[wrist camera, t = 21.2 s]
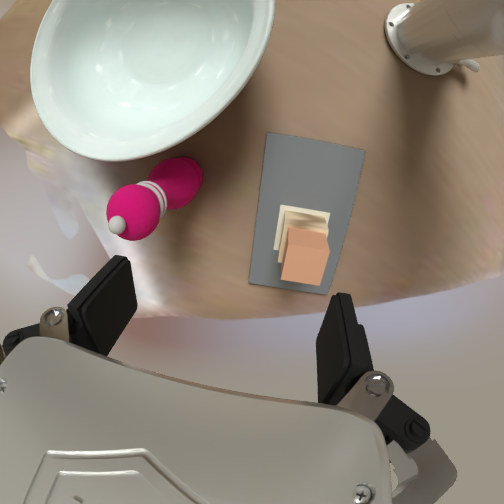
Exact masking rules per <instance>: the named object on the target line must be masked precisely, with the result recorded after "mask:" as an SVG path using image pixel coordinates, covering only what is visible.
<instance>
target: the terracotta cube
mask: <svg viewBox="0 0 504 504" xmlns="http://www.w3.org/2000/svg"><path fill="white" fill-rule="evenodd" d="M329 253H330V250H329V246H328V242H327V238H326V234H325V233H320V232H315V231H309V230H304V229H298V228H292V227H288V232H287V238H286V243H285V248H284V253H283V258H282V269H281V280H287V281H293V282H299V283H305V284H311V285H318V286H320V283H321V280H322V277H323V273H324V270H325V267H326V263H327V260H328V256H329Z"/></svg>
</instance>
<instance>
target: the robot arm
mask: <svg viewBox="0 0 504 504" xmlns="http://www.w3.org/2000/svg"><path fill="white" fill-rule="evenodd" d="M384 27H385V34H386V37H387V40H388V42H389V44H390V46H391V48H392V49H393V51H394V52H395V53H396V55H397V56H398V57H399V58H400V59H401V60H402V61H403V62H404V63H405V64H406V65H408V66H409V67H411V68H412V69H414V70H416V71H417V72H419V73H422V74H425V75H431V76H435V75H442V74H445V73H447V72H449V71H450V70H451V69H452V68H453V66H454V64H456V63H457V64H459V65H465V66H466V67H467V68H469V69H471V70H472V71H474V72H478V71H479V67H480V66H479V64H478V62H476V61H474V60H473V59H474V58H481V57H489V56H498V55H504V0H420V1H419V2H417V3H416V4H412V3H403V4H398V5H397V6H395V7H393V8H392V9H391V10H390V11H389V12H388V14H387V16H386V18H385V24H384ZM404 56H405V57H406V59H405V57H404ZM136 310H137V299H136V294H135V288H134V282H133V276H132V269H131V263H130V261H129V260H128V259H127V257H124V256H119V255H115V256H114V257H113V258H112V259H110V261H108V262H107V264H106V265H105V266H104V267H103V268H102V269H101V270H100V271H99V272H98V273H97V274H96V275H95V276H94V277H93V278H92V279H91V280H90V281H89V282H88V283H87V284H86V285H85V286H84V287H83V288H82V289H81V291H80V292H79V293H78V294H77V295H76V296H75V297H74V298H73V299H72V300H71V302H70V303H69V304H68V309H67V310H65V309H63V308H62V307H53V308H50V309H48V310H46V311H45V312H44V313H43V314H42V316H41V318H40V323H39V324H35V325H31V326H28V327H25V328H21V329H18V330H14V331H12V332H10V333H9V334H8V335H7V336H6V337H5V339H4V341H3V345H1V344H0V504H434V503H435V502H436V501H437V500H438V499H439V498H440V497H441V496H442V495H443V494H444V493H445V492H446V491H447V490H448V489H449V488H450V487H451V486H452V485H453V484H454V482H455V481H456V478H457V470H456V468H455V466H454V465H453V463H452V462H451V460H450V459H449V458H448V456H447V455H446V454H445V452H444V451H443V450H442V448H441V447H440V445H439V444H438V443H437V441H436V440H435V439H434V440H433V441H432V440H431V438H430V437H429V436H430V426H429V424H428V422H427V421H426V420H425V419H424V418H423V417H421V416H420V415H419V414H418V413H416V412H415V411H414V410H412V409H411V408H410V407H408V406H407V405H406V404H405V403H403V402H402V401H401V400H399V399H398V398H397V397H395V396H394V395H393V392H394V385H393V382H392V380H391V379H390V377H388V376H387V375H386V374H384V373H382V372H380V371H374V369H373V364H372V360H371V355H370V351H369V347H368V342H367V338H366V334H365V330H364V327H363V325H361V324H360V325H359V324H358V323H357V318H356V314H355V310H354V306H353V302H352V298H351V295H350V294H347V293H339V292H338V293H337V294H336V295H332V297H331V300H330V303H329V306H328V309H327V312H326V314H325V317H324V320H323V323H322V326H321V328H320V331H319V333H318V336H317V340H316V354H317V381H318V403H314V402H307V401H297V400H289V399H281V398H274V397H268V396H260V395H254V394H248V393H241V392H236V391H231V390H225V389H220V388H215V387H211V386H207V385H201V384H198V383H193V382H189V381H185V380H181V379H177V378H174V377H170V376H166V375H163V374H159V373H156V372H152V371H149V370H146V369H142V368H139V367H136V366H132V365H130V364H126V363H123V362H121V361H118V360H115V359H112V358H109V357H107V356H108V354H109V352H110V351H111V349H112V347H113V346H114V344H115V343H116V341H117V339H118V338H119V336H120V335H121V333H122V332H123V330H124V329H125V327H126V325H127V324H128V322H129V321H130V319H131V318H132V316H133V315H134V313H135V312H136ZM390 463H392V465H393V466H394V467H395V469H394V472H395V473H396V475H397V477H398V485H397V487H396V489H395V490H394V491H393V492H392V488H391V487H392V486H391V471H390ZM356 486H357V487H356Z"/></svg>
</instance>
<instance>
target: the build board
mask: <svg viewBox="0 0 504 504" xmlns="http://www.w3.org/2000/svg"><path fill="white" fill-rule="evenodd" d="M364 155H365V151H364V150H361V149H357V148H353V147H348V146H344V145H339V144H335V143H330V142H325V141H320V140H314V139H309V138H303V137H297V136H291V135H284V134H277V133H270V132H267V138H266V146H265V154H264V162H263V170H262V178H261V186H260V195H259V203H258V211H257V219H256V227H255V235H254V243H253V251H252V259H251V267H250V275H249V283H252V284H259V285H265V286H271V287H278V288H284V289H291V290H297V291H304V292H311V293H318V294H325V295H328V292H329V289H330V286H331V283H332V280H333V277H334V273H335V270H336V267H337V264H338V260H339V257H340V253H341V250H342V246H343V243H344V239H345V236H346V232H347V228H348V225H349V221H350V217H351V213H352V209H353V205H354V201H355V197H356V192H357V188H358V184H359V179H360V175H361V170H362V165H363V160H364ZM285 210H287V211H293V212H299V213H305V214H311V215H317V216H323V217H325V220H326V223H327V226H328V229H329V232H328V236H327V242H328V246H329V250H330V253H329V256H328V260H327V263H326V267H325V270H324V273H323V277H322V280H321V283H320V286H318V285H311V284H305V283H299V282H293V281H287V280H281V269H282V263H279V262H278V253H279V244H280V238H281V232H282V226H283V220H284V214H285Z"/></svg>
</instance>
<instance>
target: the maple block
mask: <svg viewBox="0 0 504 504" xmlns="http://www.w3.org/2000/svg"><path fill="white" fill-rule="evenodd" d="M288 227H292V228H298V229H304V230H309V231H315V232H320V233H325V234H326V238H327V236H328V232H329V229H328V226H327V223H326V220H325V217H323V216H317V215H311V214H305V213H299V212H293V211H287V210H285V214H284V220H283V226H282V232H281V238H280V244H279V253H278V262H279V263H282V258H283V253H284V248H285V243H286V238H287V232H288Z"/></svg>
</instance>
